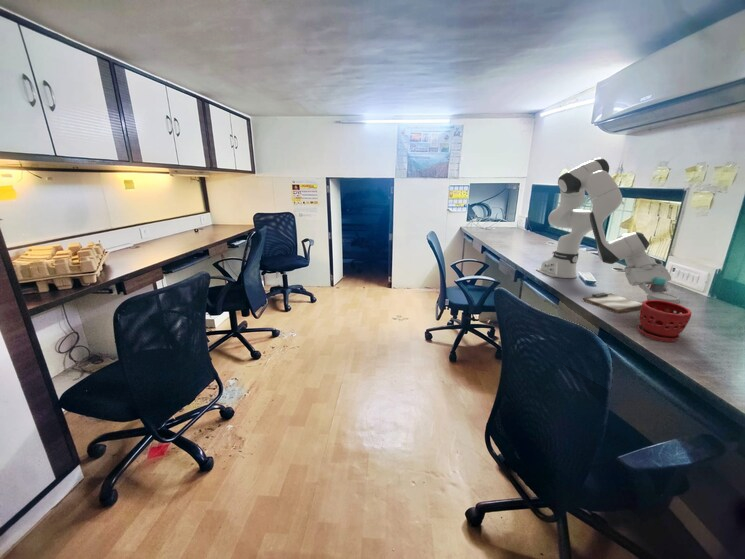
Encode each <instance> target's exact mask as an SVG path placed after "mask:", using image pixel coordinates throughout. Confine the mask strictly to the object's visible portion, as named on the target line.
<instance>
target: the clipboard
mask: <svg viewBox="0 0 745 559" xmlns="http://www.w3.org/2000/svg"><path fill="white" fill-rule="evenodd" d="M583 300H584V301H583ZM582 301H583V302H586V301H587V302H586V303H588V302H589V303H588V304H591V303H592V305H594V306H597V307H599V306H600V308H602V309H605V310H608V311H610V310H611V312H613V311H614V312H613V313H616V314H620V313H625V312H630V311H634V309H635V310H640V309H641V306H642V303H643V302H639V301H636V300H633V299H630V298H627V297H624V296H620V295H617V294H614V293H606V292H599V293H598V292H597V293H592V295H591V296H588V297H582ZM639 308H640V309H639ZM629 310H630V311H629ZM624 311H625V312H624ZM619 312H620V313H619Z"/></svg>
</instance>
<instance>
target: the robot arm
mask: <svg viewBox="0 0 745 559" xmlns="http://www.w3.org/2000/svg"><path fill="white" fill-rule="evenodd" d="M609 172H610V165H609V163H608V161H607V159H604V158H602V157H596V158H592V159H590V160H589V161H586V162H583V163H581V164H579V165H577V166H576V167H574V168H572V169H570V170H568V171H566V172H564V173H563V174H561V175H560V176H559V177H558V180H557V186H558V189H559V190H560V203H559V206H558V207H556V208H555V209H553V210H552V211H551V212H550V213H549V215H548V218H547V219H548V220H547V221H548V224H549V225H550V226H551V227H555V228H559V229H570V230H571V231H570V233H567V234H565V235H561V236H560V237H559V238H558V241H557V246H556V250H555V251H552V252H551V254H553V255H552V256H551V257H549V258H547V259H545V260H543V261H542V263H541V265H540V267H537V268H536V271H537V272H539V273H541V274H543V275H547V276H549V277H552V278H554V277H555V278H561V279H562V278H563V279H575V278H577V277H578V276H577V263H578V259H579V254H580V253H579V250H580V246H581V243H582V240H583V239H584V238H585V236H586V235H587V234H588V233H589V232H591V231H592V232H593V236H594V240H595V244H596V248H597V255H598V257H599V260H600V261H601V262H602V263H603V264H609V265H614V264H615V263H618V262H620V261H621V260H625V264H626V266H624V272H625V273H624V274H625V277H626V280H627V282H628V283H629V285H630V286H632V287H634V286H639V288H640V289H642V290H643V291H644V293H645V294H647V295H648V294H649V293H650V292H652V290H651V288H648V287H647V284H653V281H654V278H655V277H659V278H665V279H666V283H665V285H664V288H663V292H662V293H667V292H669V288H668V283H667V282H670V281H672V276H671V274H670V272H669V271H667V270H668V269H667V268H666V267H665V266H664V262H663V261H662V260H659V259H657V258H653V257H651V256H650V255H649V254H648V253H647V252H646V251H647V250H648V249H649V247H650V242H649V241H648V239H647V238H646V236H645V235H644V233H643V232H639V231H634V232H627V233H623V234H621V235H618V237H617V238H616V239H613V240H610V241H608V240H607V238H606V234H605V230H604V227H603V226H604V222H605V220H606V219H607V218H608V217H610V216H611V215H612V214H613V213H614V212H615V211H616V210H617V209H618V208H619V207H620V206H621V204H622V202H623V195H622V192H621V189H620V188H619V186H618V185H617V182H616V180H614V178H613V177H612V175H610V174H609ZM586 193H587V196H588V197H589V199H590V201H591V204H592V209H591V210H589V209H579V208H580V207H581V206H583V204H584V203H585V201H586Z"/></svg>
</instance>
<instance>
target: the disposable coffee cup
mask: <svg viewBox="0 0 745 559" xmlns="http://www.w3.org/2000/svg"><path fill="white" fill-rule="evenodd" d="M646 300H660V301H666V302H671V303H675V304H678V305H679V304H680V299H679V297H678V296H676V295H673V294H670V293H667V292H662V293H660V292H650V293H648V294H647V295H646ZM653 308H654V309H655V308H656V307H655V306H654V307H653ZM665 311H666V312H669V311H670V310H669V309H665Z"/></svg>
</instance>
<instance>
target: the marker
mask: <svg viewBox="0 0 745 559" xmlns="http://www.w3.org/2000/svg"><path fill="white" fill-rule="evenodd" d="M665 283H667V282H666V279H665V278H659V277H655V278H654V281H653V285H652V289H651V290H652V292H660V293H664V292H663V288H664V285H665Z"/></svg>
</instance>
